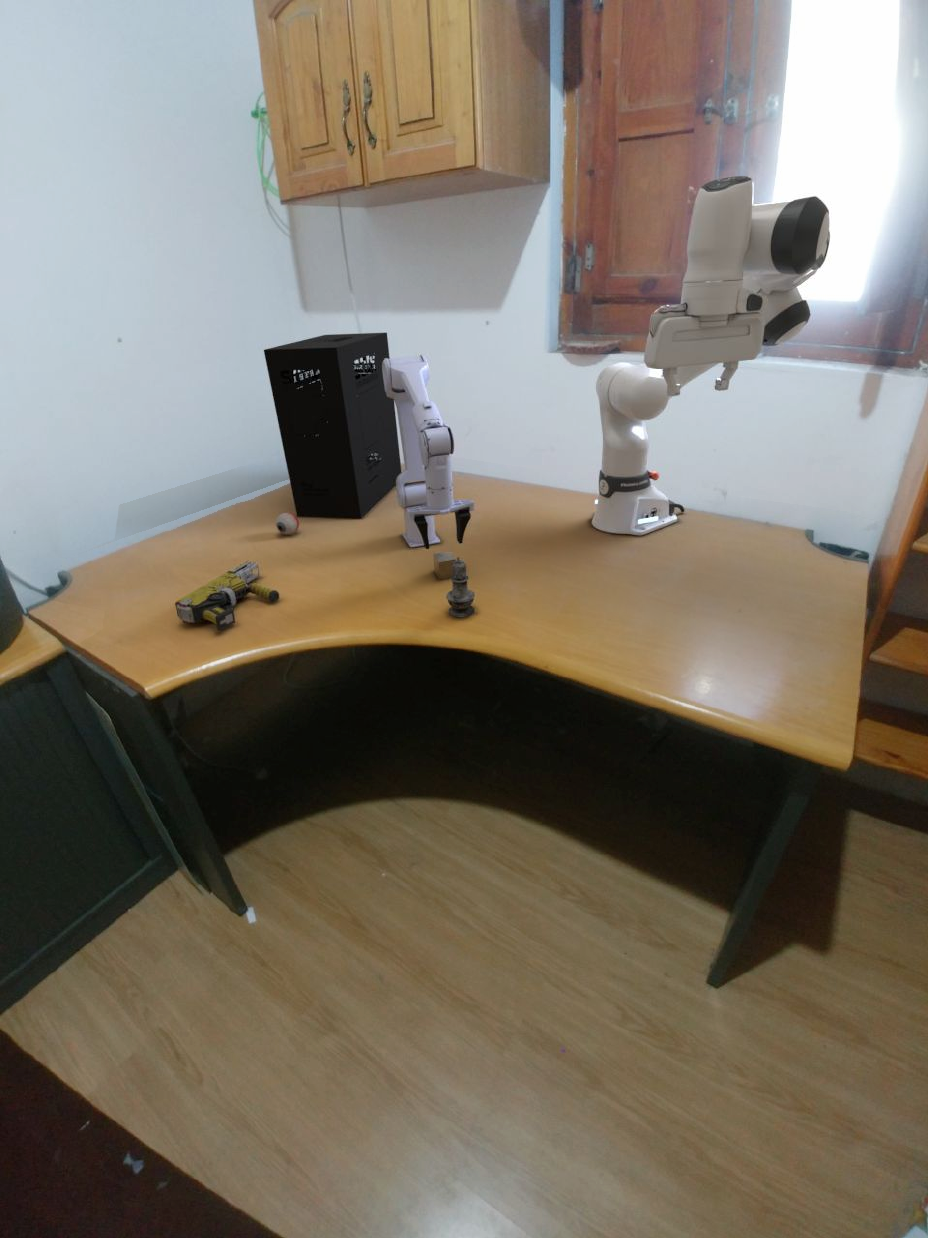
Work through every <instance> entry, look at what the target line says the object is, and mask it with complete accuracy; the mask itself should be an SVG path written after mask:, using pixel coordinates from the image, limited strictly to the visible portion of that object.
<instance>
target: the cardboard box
mask: <svg viewBox="0 0 928 1238" xmlns="http://www.w3.org/2000/svg"><path fill="white" fill-rule="evenodd" d="M389 349H390V348H389V339H388V332H363V333H361V332H360V333H340V334H339V333H337V334H334V333H333V334H323V335H318V336H314V337H311V338H305V339H302V340H298V341H293V342H290V343H285V344H282V345H278V346H272V347H270V348H265V349H263V354H264V360H265V364H266V370H267V373H268V379H269V384H270V388H271V394H272V399H273V403H274V410H275V414H276V420H277V423H278V429H279V433H280V438H281V444H282V449H283V454H284V459H285V463H286V469H287V473H288V479H289V484H290V489H291V495H292V499H293V504H294V509H295V513H296V517H315V518H316V517H317V518H342V519H344V518H345V519H346V518H347V519H362V518H363V517H364V516H366V514H367V513H368V512H370V511H371V509H373V507H374V506H376V504H378V503H379V502H380V501H381V500H382V499H383V498H384V497H385V496H386V495H387V494H388V493H389V492H390V491H391V490H392V489H394V488H395V487H396V479H397V477H398V476H399V475H400V474H401V473H402V472H403V471H402V464H401V453H400V444H399V443H400V442H399V435H398V425H397V414H396V408H395V407H396V404H395V401H394V399H393V398H390V397H387V395H386V392H385V387H384V380H383V373H382V362H383V361H384V359H385V358H388V359H391V357H390V350H389ZM367 357H368V359H367ZM361 359H362V361H361ZM356 361H358V362H356ZM294 371H295V373H294Z"/></svg>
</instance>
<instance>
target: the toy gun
mask: <svg viewBox="0 0 928 1238" xmlns="http://www.w3.org/2000/svg"><path fill="white" fill-rule="evenodd" d="M251 562H252V561H251V560H247V561H245V562H244V563H242V564H240V565H239V566H237V567H235V568H234V569H232V570H228V571H226V572H225V573H223V574H221V575H220V576H218V577H216V578H214V579H212V580H211V581H209V582H207V583H205V584H203V585H202V586H201V587H199V588H197V589H195V590H193V591H192V592H189V594H187V595H185V596H183V597H181V598H180V599H178V600H176V601H175V603H174V606H175V610H176V615H177V617H178V618H179V620H181V622H182V623H183V624H185V623H186V624H187V625H189V624H192V623H193V624H198V623H199V624H200V623H204V622H207V621H209V622H212V623H213V624H215V625H216V628H217V631H222V630H224V629H226V628H228V627H230V626H231V625H233V624H235V623H236V619H235V611H234V609H233V607H234V606H236V605H237V600H239V599H241V598H242V597H245V596H247V595H249V594H252V595H255V596H258V597H259V598H263V599H265V600H268V601H270V602H272V603H275V602H277V601H278V600H279V599H280V593H279V591H278V590H276V589H271V588H269V587H268V588H267V587H266V586H263V585H262V584H261V585H260V584H258V583H256V582H254V583H252V584H251V585H248V584H249V583H250V582H253V581H254V580H255V579H257V578H259V577H260V567H259V564H258V563H257V562H256V561H253V562H252V563H251ZM256 569H257V573H254V571H255V570H256Z"/></svg>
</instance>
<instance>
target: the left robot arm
mask: <svg viewBox="0 0 928 1238" xmlns="http://www.w3.org/2000/svg"><path fill="white" fill-rule="evenodd" d="M382 373H383V380H384V387H385V392H386V395H387V397H390V398H393V399H394V405H395V407H396V408H395V409H396V413H397V414H396V415H397V420H398V427H399V434H400V435H399V436H400V441H401V448H402V457H403V463H404V469H403V470H402V471H401V472H402V473H401V474H400V475H399V476H398V477H397V479H396V485H395V487H396V488H395V493H396V499H397V504H398V506H399V508H400V509H402V510H403V519H404V527H405V532H403V533H402V538H403V539H404V540H405V542H406V543H407V545H408V546H409V548H416V547H417V548H418V547H423V546H424V548H425V549H426V550H430V545H434V544H435V545H436V544H440V543H441V540H440V538H439V537H438V536H437V534H436V527H435V526H436V525H435V516H438V515H440V516H441V515H443V516H445V515H449V514H451V513H452V514H453V513H454V517H455V526H456V541H457V542H458V544H460V545H461V544H463V542H464V535H465V532H466V528H467V526H468V524H469V522H470V520H471V517H472V513H471V512H472V511H475V502H474V501H473V499H458V500H457V499H456V500H455V499H454V487H453V486H454V485H453V472H452V471H453V470H452V469H453V468H452V455H453V454H454V452H455V439H454V433H453V431H452V428H451V426H450V425H448V424H447V422H444V421H443V418H442V417H441V413H440V411H439V409H438V406H437V404H436V403H435V402H434V401H432V400H430V398H429V395H428V390H427V385H428V384H429V380H430V366H429V362H428V359H427V357H425V355H424V354H420V355H415V356H405V357H393V358H390V359H388V358H385V359H384V361H383V362H382Z"/></svg>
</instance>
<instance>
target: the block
mask: <svg viewBox="0 0 928 1238" xmlns="http://www.w3.org/2000/svg"><path fill="white" fill-rule="evenodd" d="M456 560H457V558H456V557H455V556H454V554H453V553H452V552H451V551H445V552H438V553H434V554H433V567H434V573H435V575H436V576H437V578H438V579H439V581H440V580H441V581H442V580H446V579H450V578H451V577H452V567H451V566H452V563H453V562H454V561H456Z"/></svg>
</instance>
